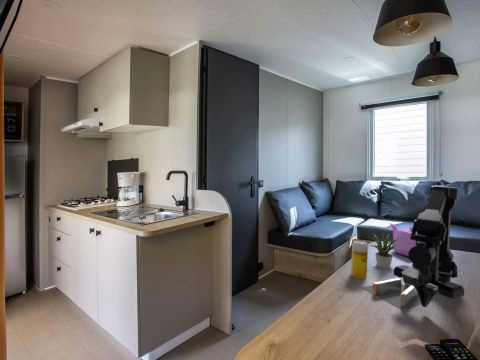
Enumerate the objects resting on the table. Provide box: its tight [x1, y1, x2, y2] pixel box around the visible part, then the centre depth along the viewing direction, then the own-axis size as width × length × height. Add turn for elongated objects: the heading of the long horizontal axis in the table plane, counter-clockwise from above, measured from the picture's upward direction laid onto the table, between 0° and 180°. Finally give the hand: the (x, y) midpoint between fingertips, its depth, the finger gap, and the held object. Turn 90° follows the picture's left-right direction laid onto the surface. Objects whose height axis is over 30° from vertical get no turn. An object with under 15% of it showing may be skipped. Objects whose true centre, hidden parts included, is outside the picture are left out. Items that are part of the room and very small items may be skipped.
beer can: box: [350, 240, 369, 279], centre depth 117 cm, size 6×6×15 cm
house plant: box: [368, 232, 402, 269], centre depth 127 cm, size 14×14×16 cm
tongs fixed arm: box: [372, 277, 403, 297], centre depth 102 cm, size 13×1×4 cm, turn 113°
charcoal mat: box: [360, 283, 438, 311], centre depth 101 cm, size 18×17×1 cm
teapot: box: [389, 223, 421, 257], centre depth 152 cm, size 23×21×15 cm
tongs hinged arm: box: [400, 282, 418, 308], centre depth 99 cm, size 18×5×4 cm, turn 133°
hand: (424, 306), depth 88 cm, fingers closed
